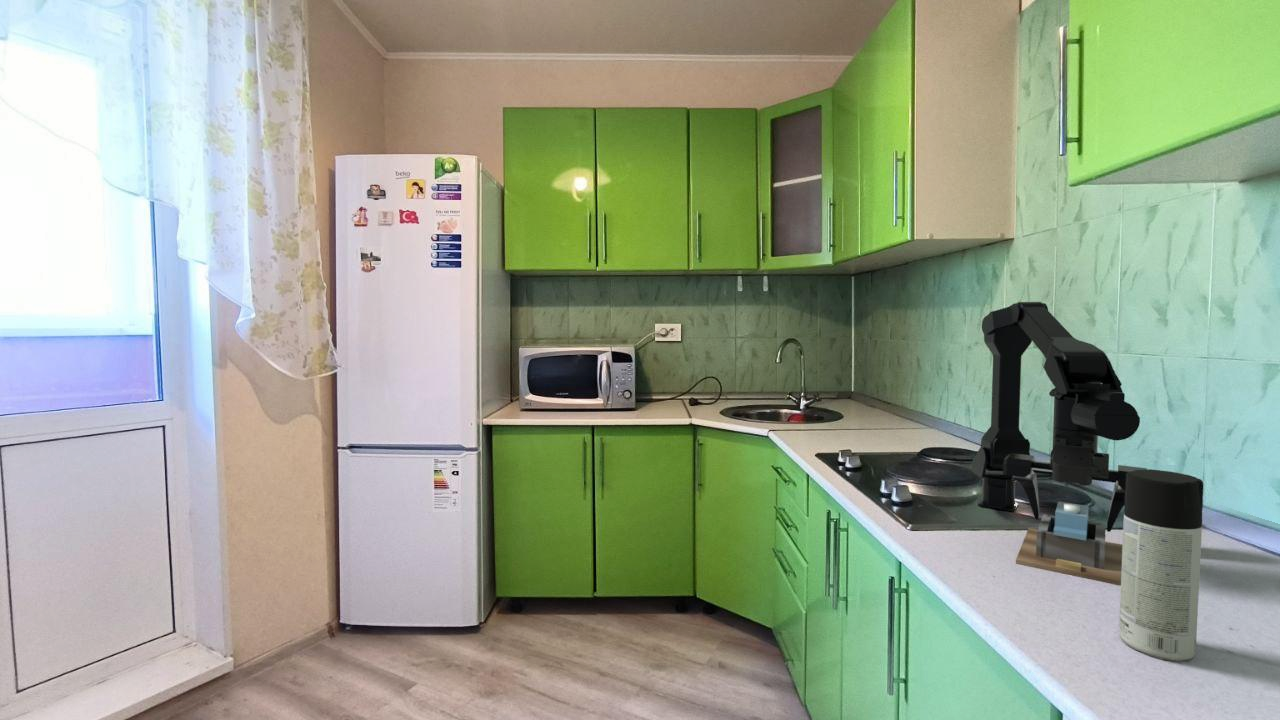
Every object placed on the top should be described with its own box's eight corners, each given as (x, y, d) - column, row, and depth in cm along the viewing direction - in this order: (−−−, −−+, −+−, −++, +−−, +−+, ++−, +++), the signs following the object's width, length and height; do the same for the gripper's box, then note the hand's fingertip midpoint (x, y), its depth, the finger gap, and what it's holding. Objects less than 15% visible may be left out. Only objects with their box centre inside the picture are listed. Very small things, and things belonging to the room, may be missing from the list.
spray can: (1211, 657, 65) (1220, 480, 64) (1168, 668, 63) (1177, 485, 62) (1144, 628, 71) (1151, 466, 70) (1103, 636, 69) (1110, 470, 68)
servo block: (1057, 538, 99) (1059, 492, 99) (1087, 544, 97) (1089, 496, 96) (1052, 560, 90) (1054, 509, 90) (1085, 566, 88) (1087, 514, 87)
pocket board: (1028, 531, 105) (1029, 506, 104) (1122, 548, 97) (1123, 521, 96) (1015, 563, 91) (1016, 534, 90) (1124, 586, 83) (1125, 554, 82)
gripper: (999, 429, 92) (996, 526, 93) (1157, 443, 80) (1152, 554, 81) (1008, 420, 101) (1006, 509, 102) (1152, 431, 89) (1147, 532, 90)
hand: (1071, 524), depth 93 cm, fingers open, 9 cm apart
